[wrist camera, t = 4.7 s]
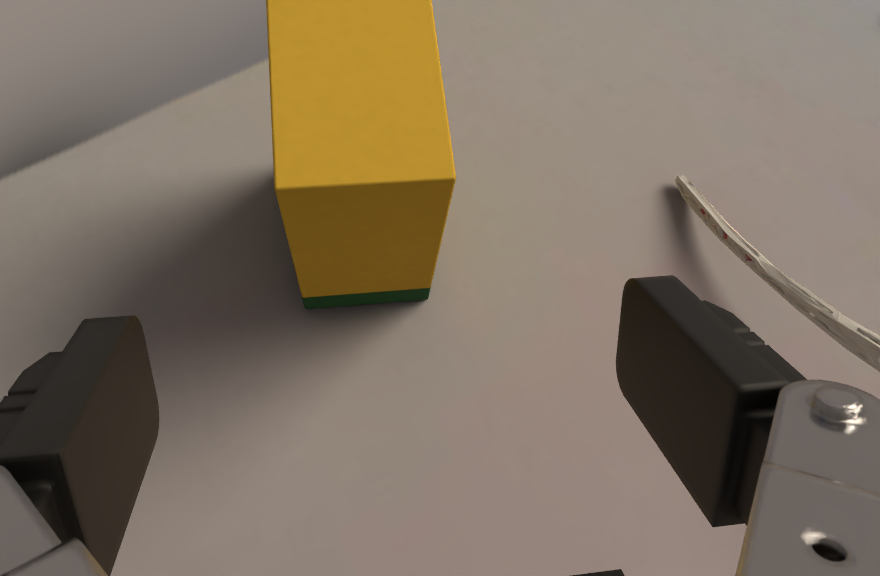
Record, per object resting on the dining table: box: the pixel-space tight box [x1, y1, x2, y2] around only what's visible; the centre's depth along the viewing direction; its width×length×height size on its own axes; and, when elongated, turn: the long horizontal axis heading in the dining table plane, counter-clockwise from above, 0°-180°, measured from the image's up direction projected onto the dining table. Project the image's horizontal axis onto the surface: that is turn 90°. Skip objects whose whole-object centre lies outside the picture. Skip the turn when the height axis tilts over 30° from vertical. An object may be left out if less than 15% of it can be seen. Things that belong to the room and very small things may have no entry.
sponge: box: [266, 0, 456, 309], centre depth 23 cm, size 4×6×9 cm
